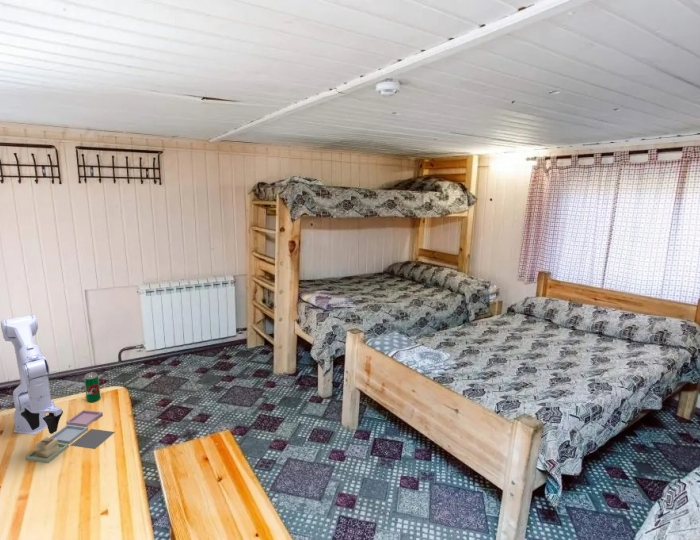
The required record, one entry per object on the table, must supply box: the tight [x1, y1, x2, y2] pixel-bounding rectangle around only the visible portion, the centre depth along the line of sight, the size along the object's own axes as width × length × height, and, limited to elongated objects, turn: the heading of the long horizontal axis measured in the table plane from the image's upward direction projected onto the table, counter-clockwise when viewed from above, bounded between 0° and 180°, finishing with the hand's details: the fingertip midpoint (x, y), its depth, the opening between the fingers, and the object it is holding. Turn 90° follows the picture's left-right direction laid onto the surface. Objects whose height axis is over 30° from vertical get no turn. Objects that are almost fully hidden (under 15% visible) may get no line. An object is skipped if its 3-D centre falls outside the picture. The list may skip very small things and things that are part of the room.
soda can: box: [83, 371, 101, 403], centre depth 171 cm, size 5×5×12 cm
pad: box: [69, 428, 116, 450], centre depth 146 cm, size 10×10×1 cm
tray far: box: [66, 409, 104, 427], centre depth 157 cm, size 8×8×2 cm
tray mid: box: [49, 424, 89, 445], centre depth 147 cm, size 8×8×2 cm
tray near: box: [24, 443, 70, 464], centre depth 138 cm, size 8×8×2 cm
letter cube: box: [33, 436, 59, 458], centre depth 137 cm, size 4×4×5 cm
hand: (44, 430), depth 136 cm, fingers open, 7 cm apart
